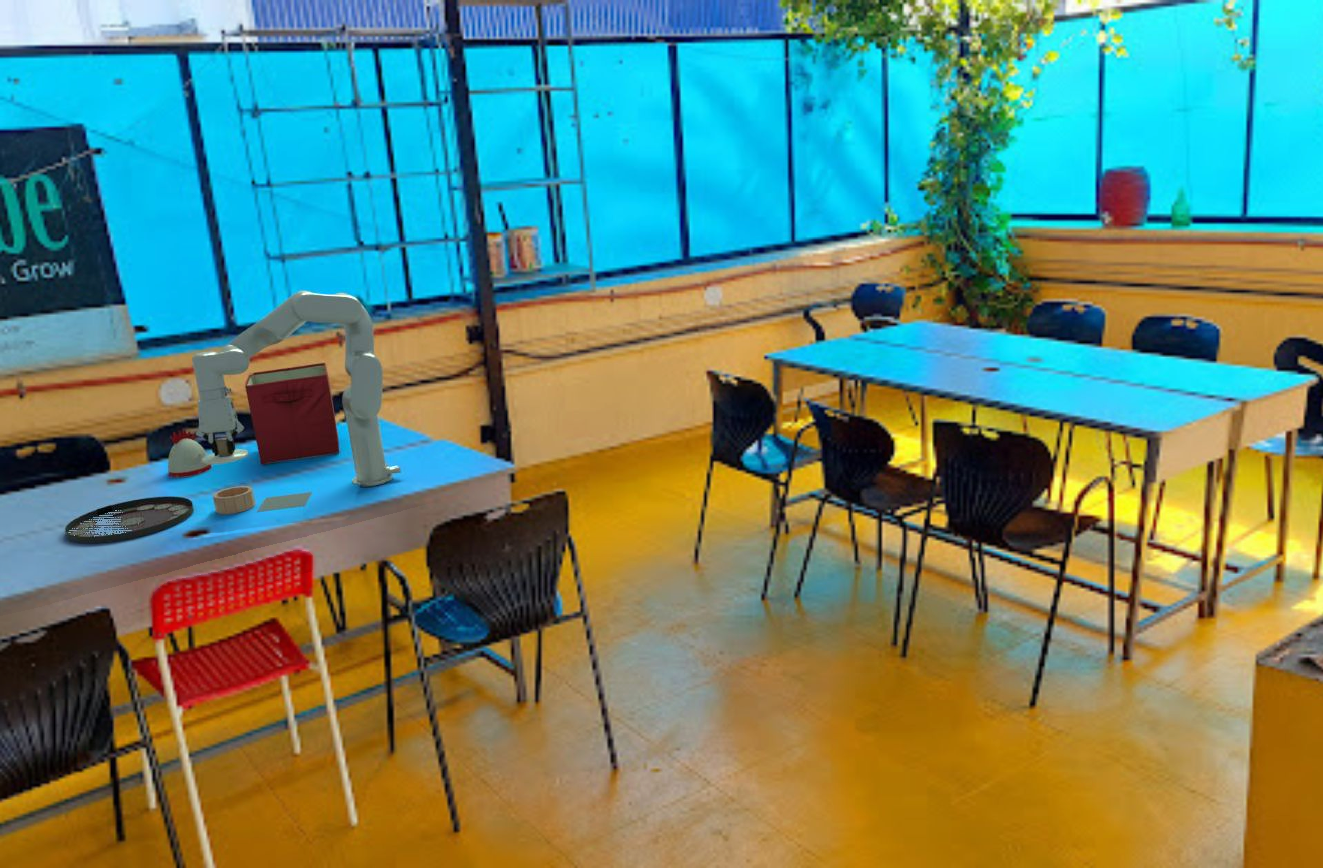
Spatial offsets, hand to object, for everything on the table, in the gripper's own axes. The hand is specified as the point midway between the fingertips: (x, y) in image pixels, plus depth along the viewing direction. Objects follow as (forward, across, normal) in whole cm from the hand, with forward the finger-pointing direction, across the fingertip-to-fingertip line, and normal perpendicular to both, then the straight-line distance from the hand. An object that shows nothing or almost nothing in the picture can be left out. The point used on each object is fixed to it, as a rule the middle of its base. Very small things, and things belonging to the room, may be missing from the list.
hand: (224, 453), depth 328 cm
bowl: (+18, 0, 0) cm, 18 cm away
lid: (+1, 0, 0) cm, 1 cm away
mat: (+18, -15, 0) cm, 23 cm away
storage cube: (+18, -8, -65) cm, 68 cm away
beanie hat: (+19, +28, -56) cm, 65 cm away
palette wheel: (+19, +31, -2) cm, 36 cm away
